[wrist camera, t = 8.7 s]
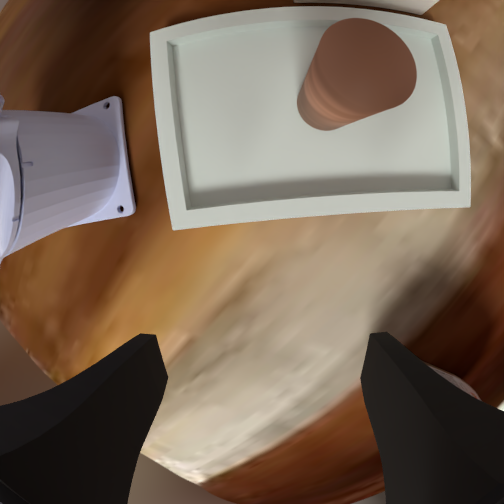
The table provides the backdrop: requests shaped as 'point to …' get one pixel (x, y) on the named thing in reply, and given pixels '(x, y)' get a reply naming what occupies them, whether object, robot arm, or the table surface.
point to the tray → (299, 123)
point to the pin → (355, 74)
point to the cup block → (384, 4)
